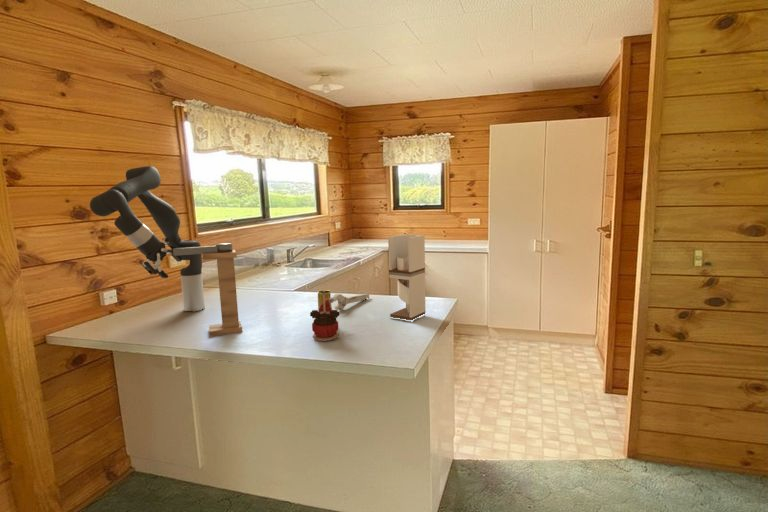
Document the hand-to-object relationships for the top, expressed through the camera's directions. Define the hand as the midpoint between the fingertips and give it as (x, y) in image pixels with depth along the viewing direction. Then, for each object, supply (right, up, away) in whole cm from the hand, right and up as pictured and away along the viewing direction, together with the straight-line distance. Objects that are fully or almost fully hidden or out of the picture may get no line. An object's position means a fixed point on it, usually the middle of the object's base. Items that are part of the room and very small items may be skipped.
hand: (173, 269), depth 165 cm
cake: (+59, -26, -3) cm, 64 cm away
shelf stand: (+17, -25, +9) cm, 31 cm away
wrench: (+65, -19, +43) cm, 80 cm away
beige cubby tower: (+91, -21, +21) cm, 96 cm away
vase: (+56, -24, +12) cm, 62 cm away
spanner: (+10, +6, +2) cm, 12 cm away
